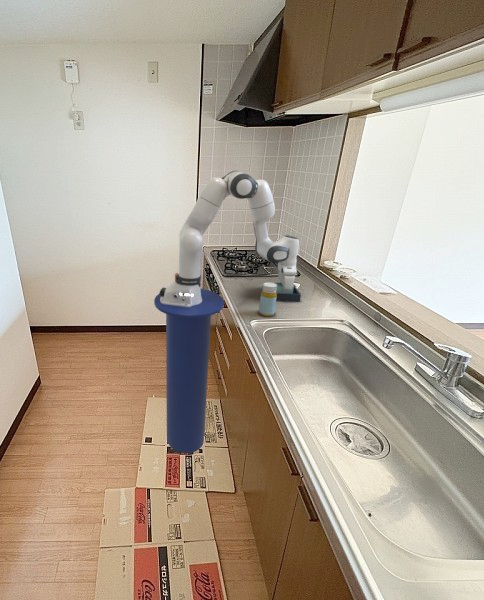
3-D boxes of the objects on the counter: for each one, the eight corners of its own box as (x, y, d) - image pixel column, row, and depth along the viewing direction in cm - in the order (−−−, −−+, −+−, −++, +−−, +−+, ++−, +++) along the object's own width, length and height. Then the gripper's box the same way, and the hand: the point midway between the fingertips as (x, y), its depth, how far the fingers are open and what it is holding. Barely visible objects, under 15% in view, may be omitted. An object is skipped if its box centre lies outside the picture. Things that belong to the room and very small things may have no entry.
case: (274, 296, 175) (276, 285, 172) (272, 292, 179) (274, 282, 177) (292, 297, 173) (294, 286, 171) (290, 293, 178) (291, 283, 176)
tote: (270, 300, 171) (271, 293, 169) (266, 290, 184) (267, 283, 183) (299, 301, 169) (301, 294, 167) (293, 291, 182) (294, 284, 181)
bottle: (271, 318, 152) (276, 288, 146) (256, 314, 155) (260, 285, 149) (275, 312, 157) (279, 283, 151) (261, 309, 161) (264, 281, 155)
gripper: (276, 260, 180) (273, 284, 185) (284, 272, 161) (280, 298, 167) (288, 261, 179) (285, 284, 184) (297, 273, 160) (293, 298, 166)
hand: (283, 291), depth 175 cm, fingers closed on case, 5 cm apart
